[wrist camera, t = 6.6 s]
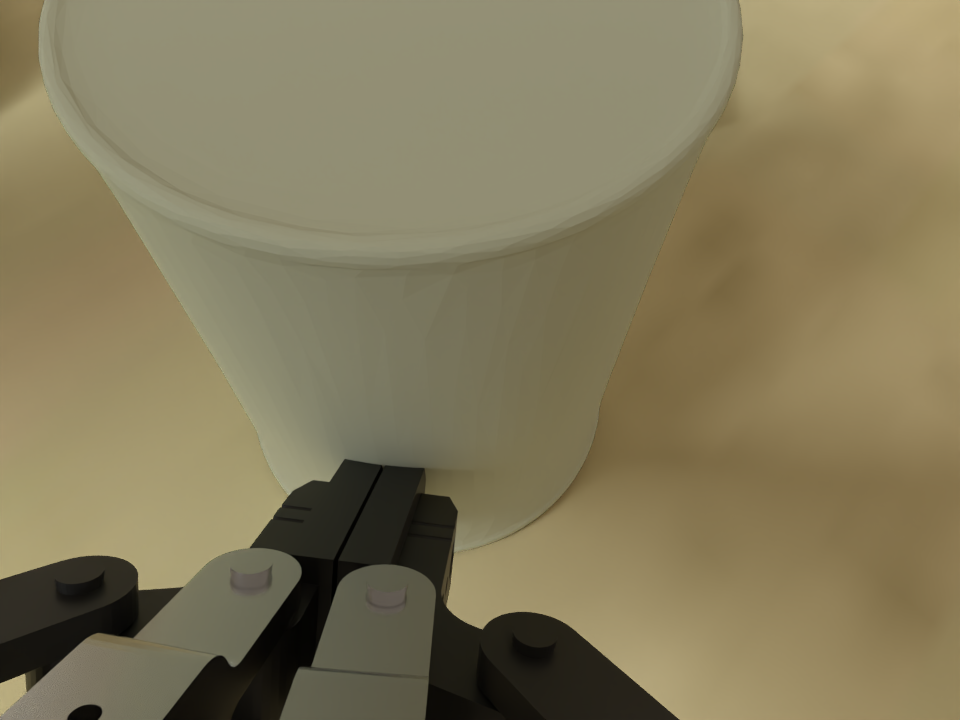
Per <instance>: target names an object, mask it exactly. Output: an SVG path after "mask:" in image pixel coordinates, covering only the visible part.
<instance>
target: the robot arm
mask: <svg viewBox="0 0 960 720" xmlns="http://www.w3.org/2000/svg"><path fill="white" fill-rule="evenodd" d="M425 485H426V475H425V468H412V467H399V466H389V465H385V467H384V469H383V467H382V465H378V464H371V463H365V462H359V461H353V460H348V459H344V460H343V462H342V464H341V465H340V467H339V468H338V470H337V471H336V473H335V474H334V476H333V477H332V479H331V480H330V482H326V481H317V480H312V481H310V482H308V483H306V484H304V485H303V486H301V487H299V488H297V489H295V490H293V491H292V492H291V494H290V495H289V496H288V498H287V499H286V500H285V502H284V503H283V504H282V508H281V507H280V508H279V510H278V511H277V512H276V514H275V515H274V517H273V519H271V520H270V522H269V523H268V524H267V526H266V527H265V528H264V530H263V531H262V532H261V534H260V535H259V536H258V538H257V539H256V540H255V542H254V543H253V544H252V546H251V547H250V548H249V549H241V550H236V551H232V552H228V553H226V554H223V555H221V556H218V557H216V558H215V559H213V560H211V561H210V562H209V563H207V564H206V565H205V566H204V567H203V568H202V569H201V570H200V571H199V572H198V573H197V574H196V575H195V576H194V577H193V578H192V579H191V580H190V581H189V582H188V583H187V584H186V585H185V586H184V587H180V588H168V589H153V590H138V572H137V569H136V568H135V567H134V566H133V565H132V564H131V563H129V562H128V561H125V560H123V559H120V558H116V557H110V556H84V557H77V558H72V559H68V560H64V561H60V562H57V563H54V564H50V565H47V566H44V567H40V568H37V569H34V570H30V571H27V572H24V573H21V574H17V575H14V576H11V577H7V578H4V579H1V580H0V683H2V682H5V681H7V680H10V679H12V678H15V677H17V676H20V675H22V674H25V676H26V690H27V693H26V694H25V695H24V696H22V697H21V698H20V699H19V700H18V701H17V702H16V703H15V704H14V705H13V706H12V707H10V708H9V709H8V710H7V711H6V712H5V713H4V714H3V715H2V716H1V717H0V720H679V719H678V718H677V717H675V716H674V715H673V714H672V713H671V712H669V711H668V710H667V709H666V708H665V707H664V706H662V705H661V704H660V703H659V702H658V701H657V700H655V699H654V698H653V697H652V696H651V695H650V694H648V693H647V692H646V691H645V690H644V689H643V688H641V687H640V686H639V685H638V684H637V683H636V682H634V681H633V680H632V679H631V678H630V677H629V676H627V675H626V674H625V673H624V672H623V671H621V670H620V669H619V668H618V667H617V666H616V665H614V664H613V663H612V662H611V661H610V660H609V659H607V658H606V657H605V656H604V655H603V654H602V653H600V652H599V651H598V650H597V649H596V648H595V647H593V646H592V645H591V644H590V643H589V642H588V641H586V640H585V639H584V638H583V637H582V636H580V635H579V634H578V633H577V632H576V631H575V630H573V629H572V628H571V627H569V626H568V625H567V624H565V623H563V622H561V621H559V620H557V619H555V618H552V617H549V616H546V615H543V614H538V613H531V612H515V613H508V614H504V615H501V616H499V617H496V618H494V619H493V620H491V621H490V622H489V623H488V624H487V625H486V626H485V627H484V629H483V630H482V629H479V628H477V627H474V626H472V625H469V624H467V623H465V622H464V621H462V620H460V619H459V618H457V617H456V616H455V615H453V614H452V613H451V612H450V611H449V610H448V608H447V607H446V604H447V600H448V595H449V589H450V584H451V574H452V565H453V555H454V545H455V536H456V526H457V516H458V510H457V509H456V507H455V505H454V504H453V502H452V500H451V499H450V497H447V496H439V495H431V494H425Z"/></svg>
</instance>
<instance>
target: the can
mask: <svg viewBox="0 0 960 720" xmlns="http://www.w3.org/2000/svg"><path fill="white" fill-rule="evenodd" d="M742 41H743V29H742V19H741V9H740V4H739V0H44V4H43V8H42V12H41V16H40V21H39V63H40V67H41V71H42V76H43V81H44V85H45V88H46V91H47V94H48V97H49V99H50V102H51V104H52V107H53V110H54V112H55V114H56V115H57V117H58V119H59V120H60V122H61V124H62V125H63V127H64V129H65V130H66V132H67V134H68V135H69V137H70V138H71V139H72V141H73V142H74V143H75V145H76V146H77V147H78V149H79V150H80V151H81V153H82V154H83V155H84V156H85V157H86V158H87V159H88V160H89V162H90V163H91V164H92V165H93V166H94V167H95V168H96V169H97V171H98V172H99V174H100V175H101V177H102V178H103V180H104V181H105V183H106V184H107V186H108V187H109V188H110V190H111V191H112V193H113V194H114V196H115V198H116V199H117V201H118V202H119V204H120V206H121V207H122V209H123V211H124V212H125V214H126V215H127V217H128V219H129V220H130V222H131V224H132V225H133V227H134V229H135V230H136V232H137V233H138V235H139V237H140V238H141V240H142V242H143V243H144V245H145V246H146V248H147V250H148V251H149V253H150V255H151V256H152V258H153V260H154V261H155V263H156V264H157V266H158V268H159V269H160V271H161V273H162V274H163V276H164V277H165V279H166V281H167V282H168V284H169V286H170V287H171V289H172V291H173V292H174V294H175V295H176V297H177V299H178V300H179V302H180V304H181V305H182V307H183V308H184V310H185V312H186V313H187V315H188V317H189V318H190V320H191V322H192V323H193V325H194V326H195V328H196V330H197V331H198V333H199V335H200V336H201V338H202V339H203V341H204V343H205V344H206V346H207V348H208V349H209V351H210V352H211V354H212V356H213V357H214V359H215V361H216V362H217V364H218V366H219V367H220V369H221V371H222V372H223V374H224V376H225V378H226V379H227V381H228V383H229V384H230V386H231V388H232V390H233V391H234V393H235V395H236V397H237V398H238V400H239V402H240V403H241V405H242V407H243V409H244V410H245V412H246V414H247V416H248V417H249V419H250V421H251V422H252V424H253V426H254V428H255V429H256V431H257V434H258V438H259V441H260V445H261V448H262V450H263V453H264V456H265V458H266V461H267V463H268V465H269V467H270V469H271V471H272V473H273V474H274V476H275V478H276V479H277V481H278V482H279V484H280V485H281V487H282V488H283V489H284V491H285V492H286V493H287V495H288V496H289V495H290V494H291V492H292V491H293V490H295V489H297V488H299V487H301V486H303V485H304V484H306V483H308V482H310V481H312V480H317V481H326V482H330V480H331V479H332V477H333V476H334V474H335V473H336V471H337V470H338V468H339V467H340V465H341V464H342V462H343V460H344V459H348V460H353V461H359V462H365V463H371V464H378V465H382V467H383V469H384V467H385V465H389V466H399V467H412V468H425V475H426V485H425V494H431V495H439V496H447V497H450V499H451V500H452V502H453V504H454V505H455V507H456V509H457V510H458V516H457V526H456V536H455V545H454V553H456V552H462V551H466V550H470V549H474V548H477V547H481V546H484V545H488V544H490V543H493V542H495V541H498V540H500V539H502V538H504V537H506V536H508V535H510V534H512V533H514V532H516V531H518V530H520V529H521V528H523V527H525V526H526V525H528V524H529V523H531V522H532V521H534V520H535V519H536V518H538V517H539V516H540V515H541V514H543V513H544V512H545V511H546V510H547V509H548V508H550V507H551V506H552V505H553V504H554V503H555V502H556V501H557V500H558V499H559V498H560V497H561V495H562V494H563V493H564V492H565V491H566V490H567V488H568V487H569V486H570V484H571V483H572V482H573V480H574V479H575V477H576V475H577V474H578V472H579V470H580V469H581V467H582V465H583V463H584V461H585V459H586V458H587V455H588V453H589V450H590V448H591V445H592V443H593V439H594V435H595V432H596V428H597V424H598V417H599V409H600V403H601V400H602V397H603V395H604V392H605V389H606V386H607V384H608V381H609V378H610V376H611V373H612V370H613V368H614V365H615V363H616V360H617V358H618V355H619V352H620V350H621V347H622V345H623V342H624V340H625V337H626V335H627V332H628V329H629V327H630V324H631V322H632V319H633V317H634V314H635V311H636V309H637V306H638V304H639V301H640V299H641V296H642V293H643V291H644V288H645V286H646V283H647V281H648V278H649V276H650V273H651V271H652V269H653V266H654V264H655V261H656V259H657V256H658V254H659V252H660V249H661V247H662V244H663V242H664V239H665V237H666V235H667V232H668V230H669V227H670V225H671V222H672V220H673V218H674V215H675V213H676V210H677V208H678V205H679V203H680V200H681V198H682V196H683V193H684V191H685V188H686V186H687V183H688V181H689V179H690V176H691V174H692V171H693V169H694V166H695V164H696V162H697V160H698V158H699V155H700V153H701V151H702V149H703V146H704V144H705V142H706V140H707V138H708V136H709V135H710V133H711V131H712V130H713V128H714V126H715V125H716V123H717V122H718V120H719V118H720V117H721V115H722V113H723V112H724V110H725V107H726V105H727V102H728V100H729V98H730V95H731V93H732V91H733V88H734V86H735V83H736V79H737V74H738V70H739V66H740V59H741V51H742Z"/></svg>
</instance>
